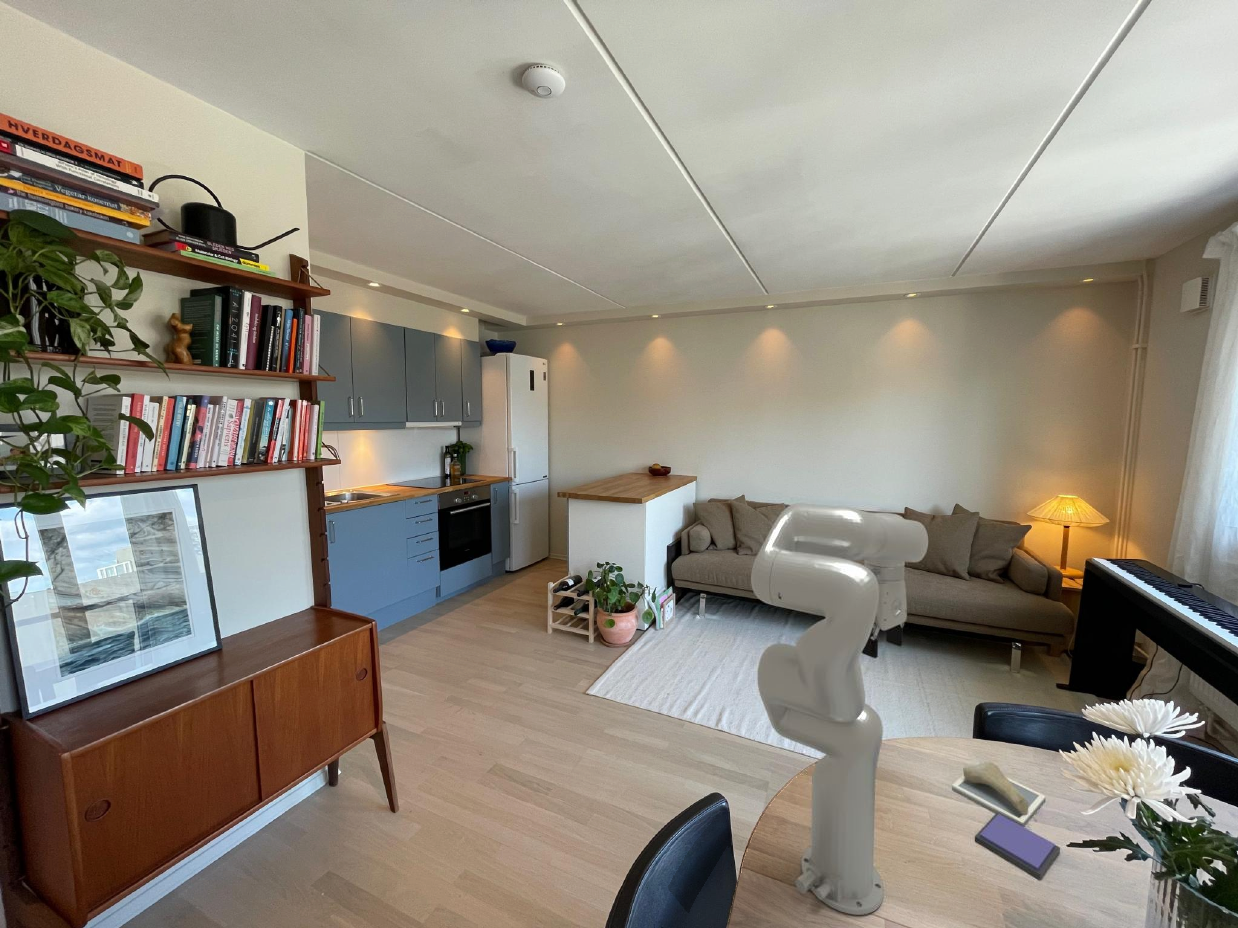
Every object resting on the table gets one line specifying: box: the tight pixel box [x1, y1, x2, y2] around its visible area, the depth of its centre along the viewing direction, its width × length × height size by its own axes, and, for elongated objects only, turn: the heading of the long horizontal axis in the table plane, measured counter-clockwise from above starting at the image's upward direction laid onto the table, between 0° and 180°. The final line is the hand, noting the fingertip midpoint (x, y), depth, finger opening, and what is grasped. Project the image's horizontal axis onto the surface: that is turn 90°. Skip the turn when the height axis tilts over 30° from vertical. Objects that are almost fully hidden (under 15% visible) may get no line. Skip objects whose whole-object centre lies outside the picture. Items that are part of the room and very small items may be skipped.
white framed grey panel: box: [951, 762, 1046, 828], centre depth 101 cm, size 12×12×1 cm
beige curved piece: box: [962, 761, 1028, 815], centre depth 100 cm, size 11×6×5 cm, turn 22°
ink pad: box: [974, 813, 1061, 881], centre depth 89 cm, size 10×10×2 cm
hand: (882, 649), depth 106 cm, fingers open, 9 cm apart
